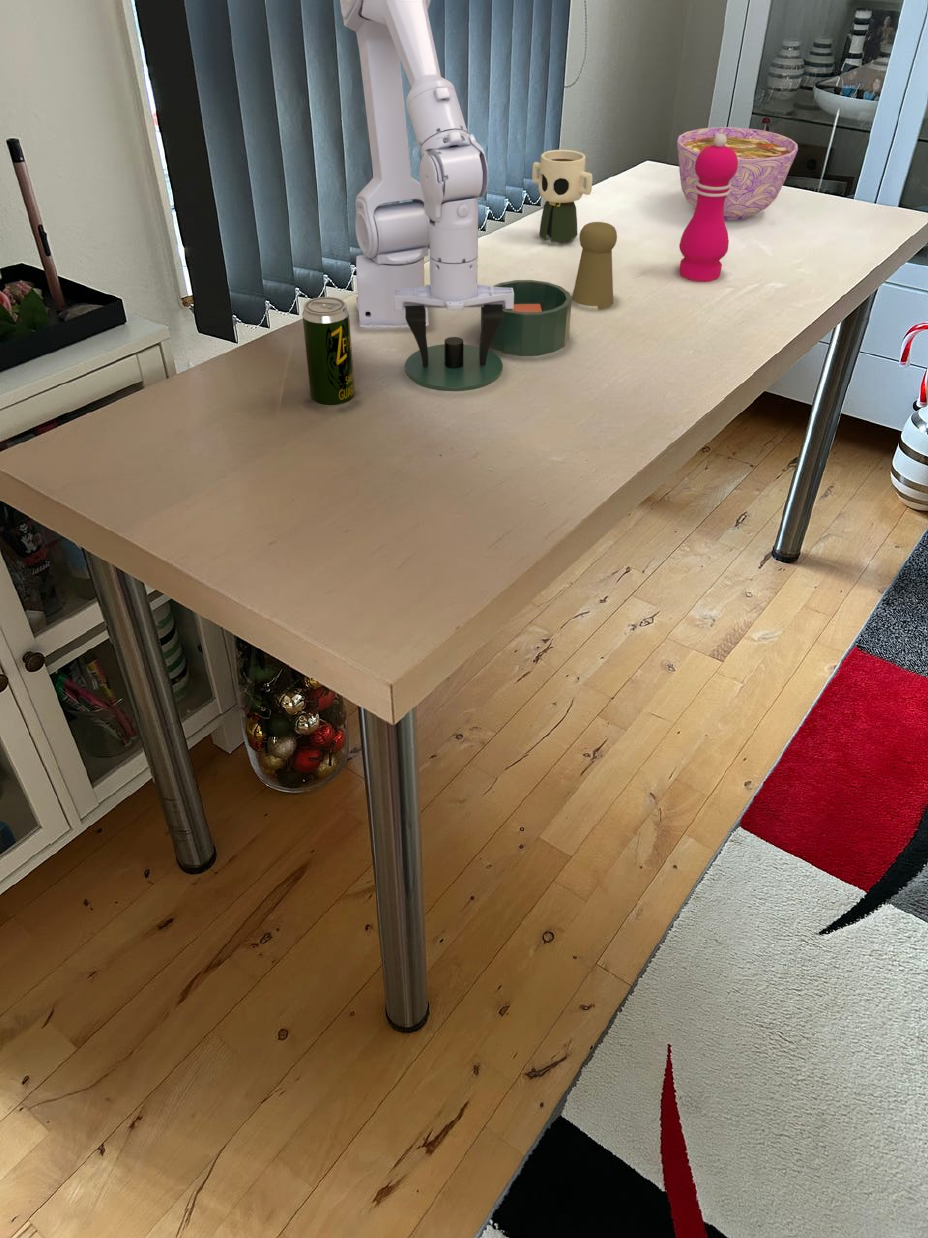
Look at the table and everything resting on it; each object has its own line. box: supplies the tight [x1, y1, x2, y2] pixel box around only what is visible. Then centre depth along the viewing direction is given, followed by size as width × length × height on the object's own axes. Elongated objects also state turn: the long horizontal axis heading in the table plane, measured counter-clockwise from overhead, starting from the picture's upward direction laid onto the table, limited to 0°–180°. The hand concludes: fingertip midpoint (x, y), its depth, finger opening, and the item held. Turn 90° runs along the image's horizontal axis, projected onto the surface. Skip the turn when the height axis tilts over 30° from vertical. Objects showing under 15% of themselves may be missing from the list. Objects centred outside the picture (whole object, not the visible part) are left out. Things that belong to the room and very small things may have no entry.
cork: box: [571, 221, 618, 311], centre depth 143 cm, size 6×6×11 cm
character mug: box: [531, 149, 593, 243], centre depth 162 cm, size 11×7×13 cm, turn 55°
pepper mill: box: [678, 134, 738, 282], centre depth 148 cm, size 7×7×20 cm
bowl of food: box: [676, 126, 799, 222], centre depth 173 cm, size 20×20×12 cm
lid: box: [404, 336, 504, 392], centre depth 127 cm, size 12×12×4 cm
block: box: [510, 304, 542, 312], centre depth 134 cm, size 4×4×4 cm
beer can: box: [301, 296, 356, 408], centre depth 119 cm, size 5×5×12 cm
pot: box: [489, 279, 572, 357], centre depth 134 cm, size 11×11×6 cm
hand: (453, 362), depth 128 cm, fingers open, 7 cm apart
